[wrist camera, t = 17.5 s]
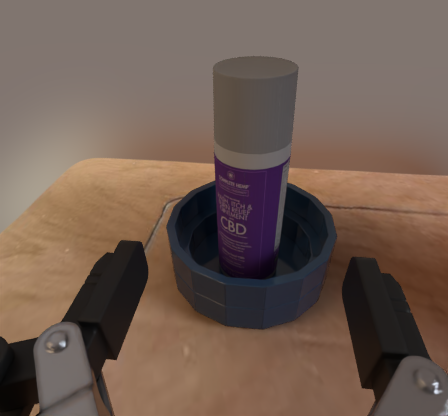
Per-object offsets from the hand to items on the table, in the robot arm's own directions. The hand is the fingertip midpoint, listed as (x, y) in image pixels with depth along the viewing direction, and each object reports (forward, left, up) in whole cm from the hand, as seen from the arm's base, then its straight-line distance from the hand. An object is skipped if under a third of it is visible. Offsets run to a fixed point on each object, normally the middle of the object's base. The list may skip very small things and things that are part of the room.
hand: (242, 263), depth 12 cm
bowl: (0, -9, -11) cm, 14 cm away
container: (0, -9, -10) cm, 14 cm away
